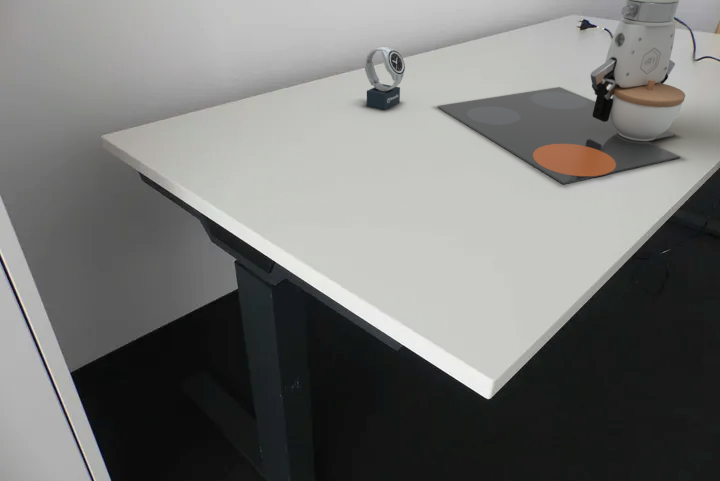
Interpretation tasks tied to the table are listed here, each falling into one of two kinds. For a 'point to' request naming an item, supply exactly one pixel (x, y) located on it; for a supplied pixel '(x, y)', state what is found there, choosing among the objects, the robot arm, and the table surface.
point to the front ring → (574, 160)
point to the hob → (554, 128)
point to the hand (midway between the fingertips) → (621, 115)
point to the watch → (382, 93)
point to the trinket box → (645, 110)
